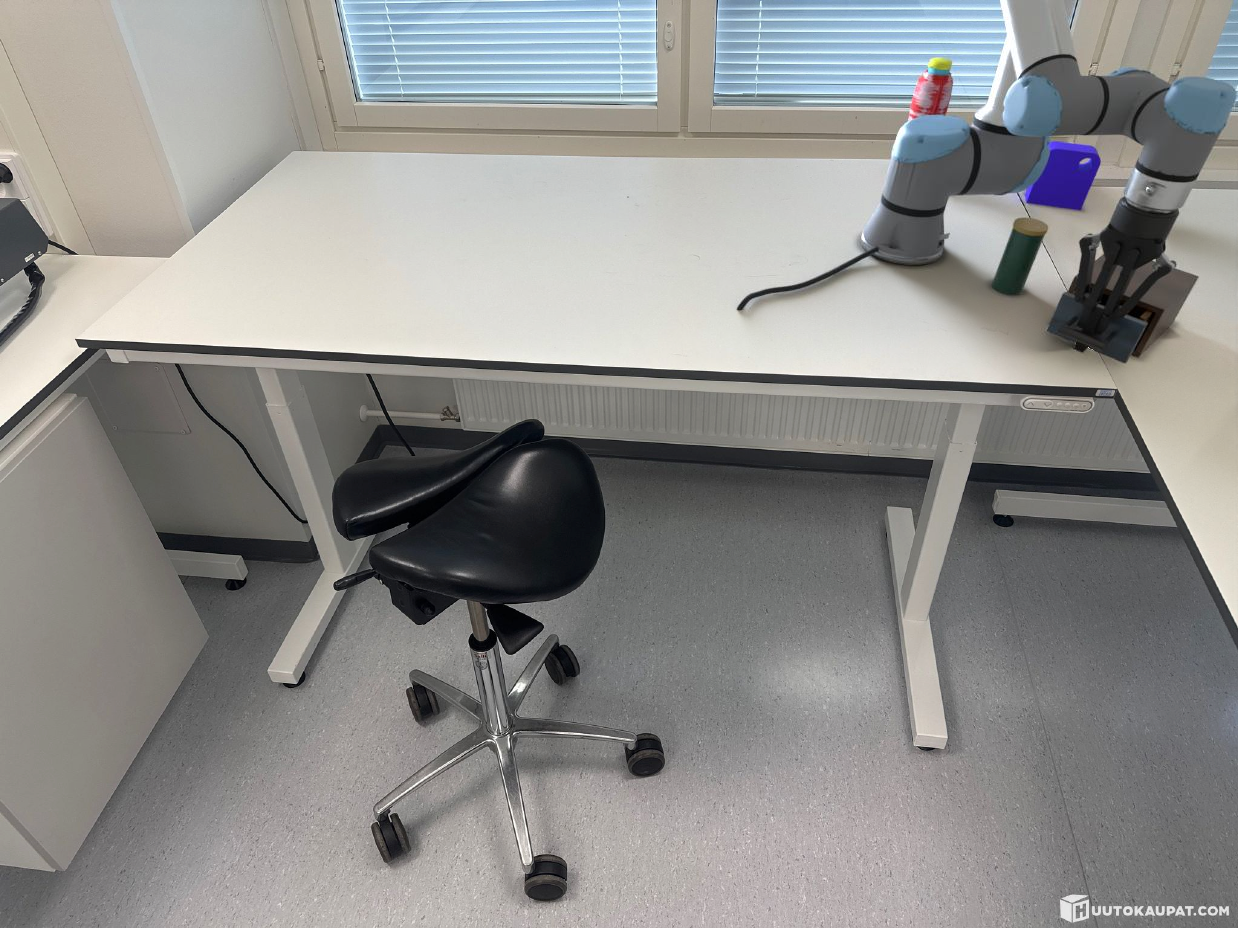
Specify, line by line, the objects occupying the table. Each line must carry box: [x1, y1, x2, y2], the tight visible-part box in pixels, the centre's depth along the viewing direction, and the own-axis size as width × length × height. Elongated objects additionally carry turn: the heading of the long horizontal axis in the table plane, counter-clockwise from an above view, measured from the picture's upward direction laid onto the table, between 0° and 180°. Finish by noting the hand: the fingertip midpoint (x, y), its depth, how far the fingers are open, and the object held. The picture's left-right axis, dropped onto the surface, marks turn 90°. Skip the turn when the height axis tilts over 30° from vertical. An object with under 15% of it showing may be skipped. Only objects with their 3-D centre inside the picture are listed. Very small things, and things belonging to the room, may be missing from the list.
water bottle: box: [907, 57, 954, 122], centre depth 173 cm, size 12×8×25 cm, turn 176°
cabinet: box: [1067, 253, 1200, 359], centre depth 132 cm, size 16×14×9 cm
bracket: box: [1024, 140, 1102, 211], centre depth 173 cm, size 18×11×12 cm, turn 163°
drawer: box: [1045, 288, 1156, 364], centre depth 128 cm, size 20×13×7 cm, turn 134°
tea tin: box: [991, 217, 1049, 296], centre depth 140 cm, size 6×6×12 cm
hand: (1081, 347), depth 126 cm, fingers closed
